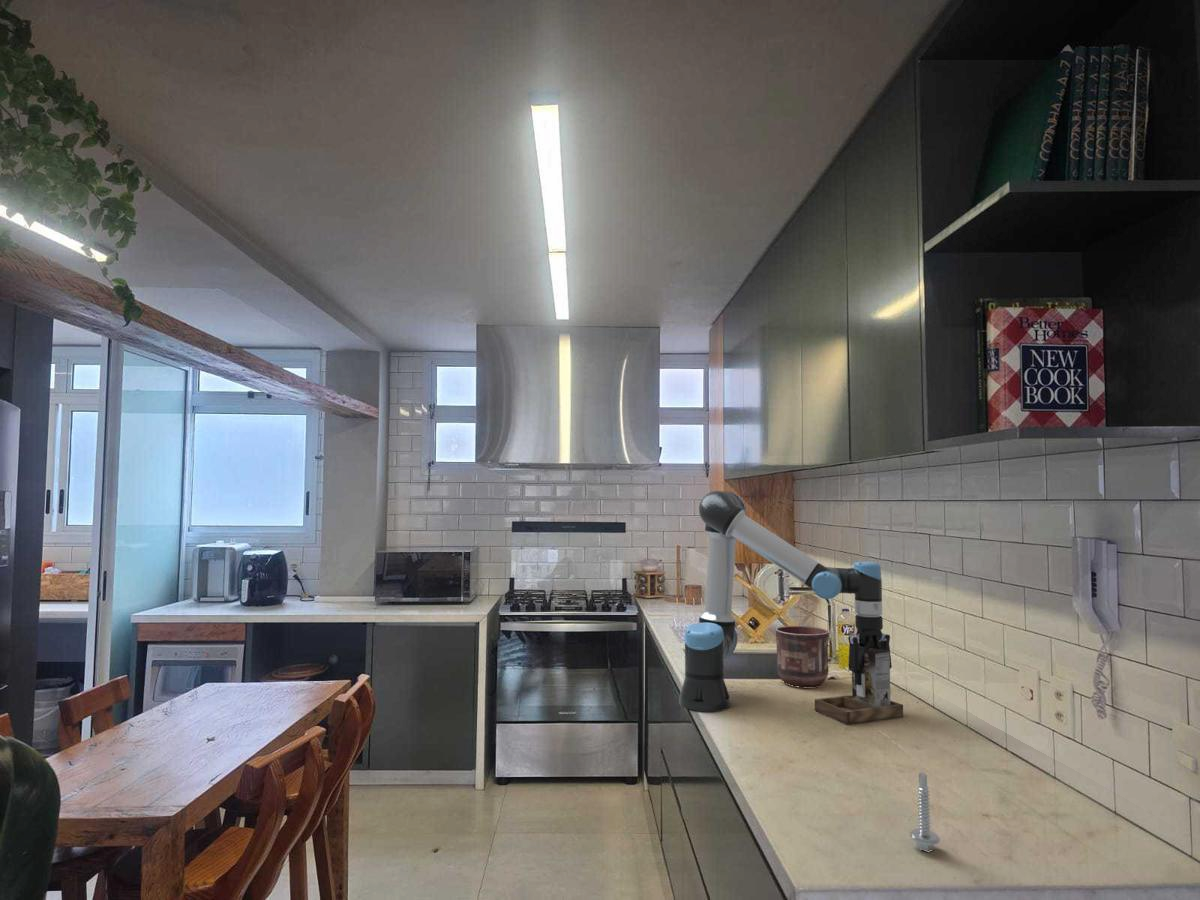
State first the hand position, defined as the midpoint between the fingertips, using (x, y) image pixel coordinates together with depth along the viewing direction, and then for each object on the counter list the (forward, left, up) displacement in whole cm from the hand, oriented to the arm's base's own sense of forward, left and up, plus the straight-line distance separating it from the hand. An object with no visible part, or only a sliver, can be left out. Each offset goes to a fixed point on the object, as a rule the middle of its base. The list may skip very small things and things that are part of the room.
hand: (870, 694), depth 200 cm
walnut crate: (-5, 0, -5) cm, 7 cm away
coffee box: (0, 0, -3) cm, 3 cm away
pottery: (+2, +34, -5) cm, 34 cm away
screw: (-50, -66, -5) cm, 83 cm away
